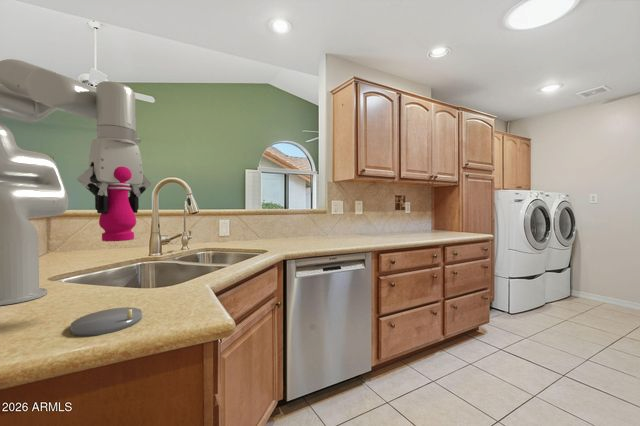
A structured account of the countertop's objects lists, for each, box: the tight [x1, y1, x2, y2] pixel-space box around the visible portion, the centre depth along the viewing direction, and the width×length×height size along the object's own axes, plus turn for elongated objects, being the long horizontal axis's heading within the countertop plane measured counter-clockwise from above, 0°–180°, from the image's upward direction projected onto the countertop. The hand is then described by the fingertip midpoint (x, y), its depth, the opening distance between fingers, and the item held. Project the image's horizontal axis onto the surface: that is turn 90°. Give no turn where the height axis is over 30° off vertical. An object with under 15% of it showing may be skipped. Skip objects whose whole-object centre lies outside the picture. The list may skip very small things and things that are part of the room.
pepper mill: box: [98, 167, 137, 242], centre depth 66 cm, size 7×7×20 cm
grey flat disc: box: [70, 306, 143, 337], centre depth 59 cm, size 12×12×3 cm
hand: (118, 212), depth 66 cm, fingers closed on pepper mill, 5 cm apart
